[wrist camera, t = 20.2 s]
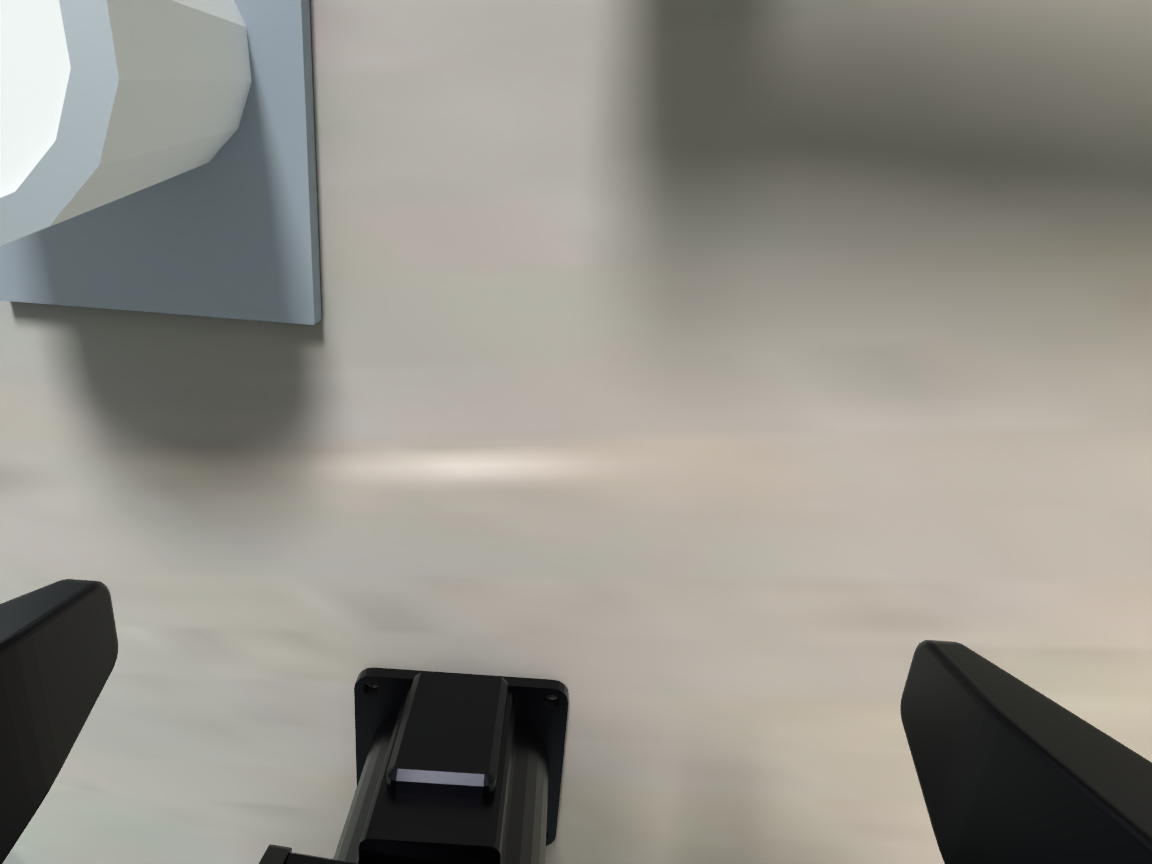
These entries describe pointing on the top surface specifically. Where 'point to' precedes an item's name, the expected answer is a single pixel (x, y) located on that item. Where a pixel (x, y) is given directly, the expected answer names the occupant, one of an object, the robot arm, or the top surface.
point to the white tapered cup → (111, 100)
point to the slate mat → (205, 211)
